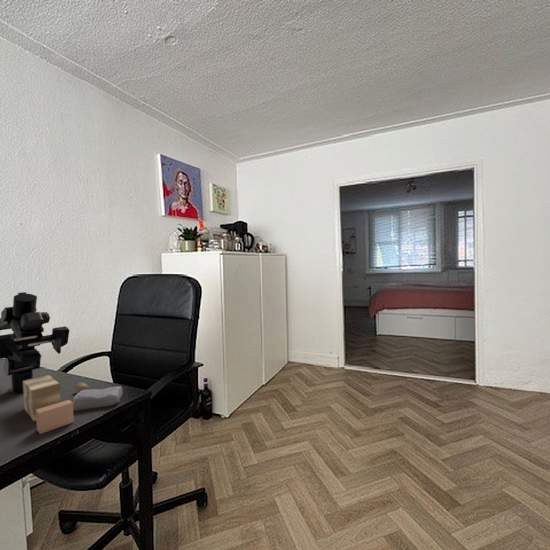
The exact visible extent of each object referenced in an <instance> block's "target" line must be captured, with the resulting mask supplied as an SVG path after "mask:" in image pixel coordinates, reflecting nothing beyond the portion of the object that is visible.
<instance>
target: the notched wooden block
mask: <svg viewBox="0 0 550 550" xmlns="http://www.w3.org/2000/svg"><path fill="white" fill-rule="evenodd" d="M22 394H23V409H24V410H25V411H26V414H27V415H29V418H31V420H32V421H33V422H35V421H36V409H40V408H43V407H46V406H50V405H53V404H57V403H60V402H62V401H61V385H60V382H58V381H57V380H56V379H55V378H53V377H52V376H51V375H49V374H46V375H42V376H38V377H34V378H33V379H29V380H24V381H23V392H22Z"/></svg>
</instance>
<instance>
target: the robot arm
mask: <svg viewBox="0 0 550 550" xmlns="http://www.w3.org/2000/svg"><path fill="white" fill-rule="evenodd" d="M37 301H38V296H37V295H35V294H32V293H27V292H24V291H23V292H18V293H17V294H16V295H14V296H13V303H12V306H7V307H4V309H3V310H2V311H1V312H0V313H1V314H0V316H1V317H0V331H5V330H11V331H12V333H8V334H7V333H5V334H0V359H1V360H2V359H4V364H3V373H4V374H5V375H6V376H8V377H9V376H10V379H11V388H8V389H7V391H8V392H10V393H13V394H14V395H16V394H20V393H23V381H24V380H29V379H33V378H35V377H34V370H39V369H40V368H41V359H42V353H41V352H40V351H39V350H38V349H36V347H37V346H41V345H44V344H49V343H51V345H52V348H53V349H54V351H55V352H56V353H57V354H58V355H59V354H61V352H62V347H64V346H66V345H67V344H68V343H69V335H70V329H69V327H67V326H59V327H58V326H57V327H53V328H52V330H51V331H52V332H51V334H47V335H43V333H44V332H45V331H44V330H45V329H44V326H43V325H45V324H48V323H49V322H50V319H51V317H50V314H49V313H48V312H45V311H42V312H41V311H37Z"/></svg>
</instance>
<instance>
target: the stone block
mask: <svg viewBox="0 0 550 550" xmlns="http://www.w3.org/2000/svg"><path fill="white" fill-rule="evenodd" d="M123 391H124V390H123V387H122V386H120V385H115V386H109V387H106V388H102V389H98V388H97V389H96V388H94V389H92V388H91V389H89V390H82V391H80V392H79V393H78V392H77V393H76V394H75V396H73V398H72V402H73V412H74V411H83V410H89V409H90V410H91V409H97V408H104V407H110V406H115V405H118V404H119V403H120V399H121V398H122V396H123Z"/></svg>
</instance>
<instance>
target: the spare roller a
mask: <svg viewBox="0 0 550 550" xmlns="http://www.w3.org/2000/svg"><path fill="white" fill-rule="evenodd" d="M89 389H92V388H91V386H89V385H88V384H86V383H85V382H78V383H77V384H76V385H75V387H74V390H75V391H76V392H77V393H79V392H80V391H82V390H89Z"/></svg>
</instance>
